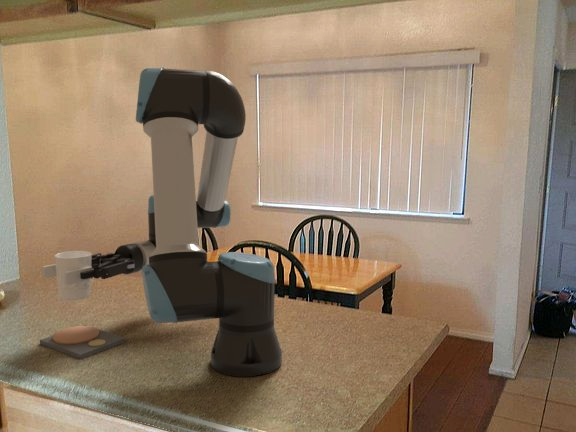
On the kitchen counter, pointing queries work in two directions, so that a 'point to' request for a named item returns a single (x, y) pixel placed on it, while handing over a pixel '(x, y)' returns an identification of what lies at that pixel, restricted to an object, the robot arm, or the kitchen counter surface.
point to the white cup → (69, 263)
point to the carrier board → (82, 341)
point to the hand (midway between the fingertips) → (54, 275)
